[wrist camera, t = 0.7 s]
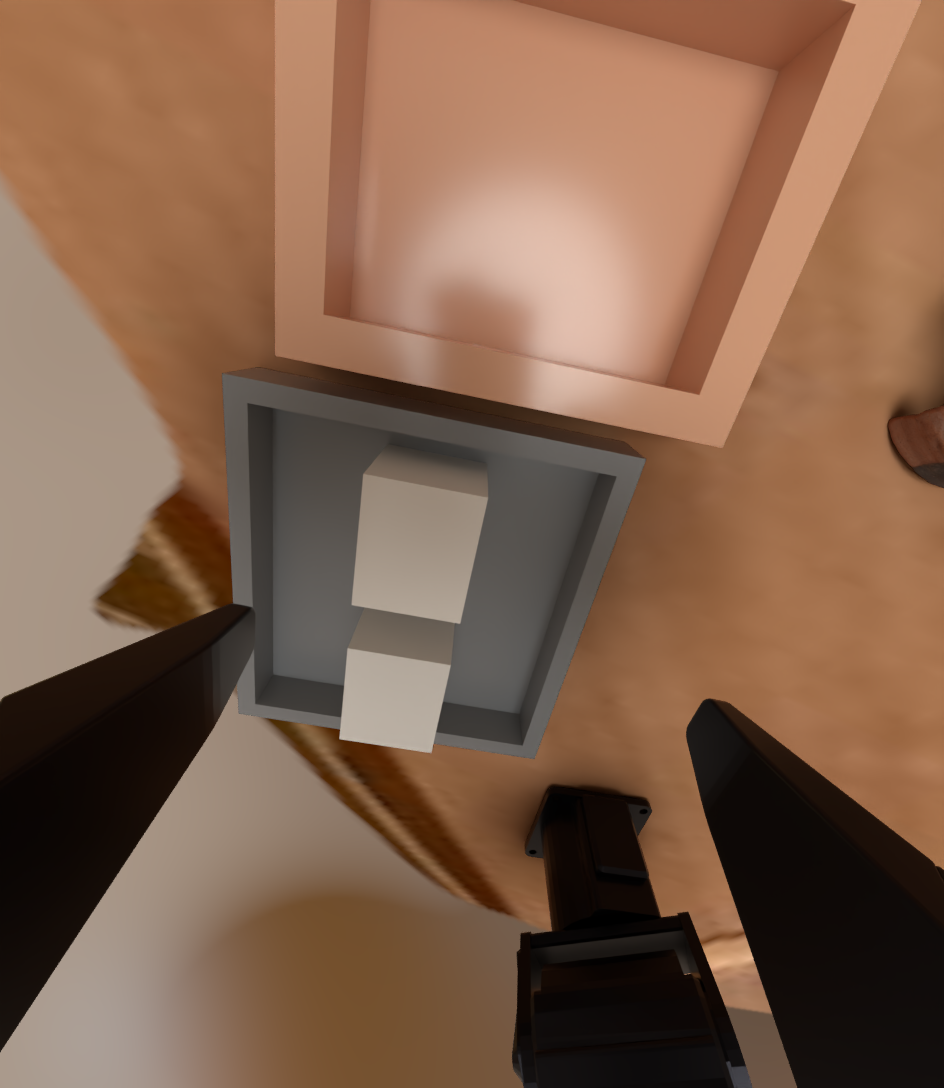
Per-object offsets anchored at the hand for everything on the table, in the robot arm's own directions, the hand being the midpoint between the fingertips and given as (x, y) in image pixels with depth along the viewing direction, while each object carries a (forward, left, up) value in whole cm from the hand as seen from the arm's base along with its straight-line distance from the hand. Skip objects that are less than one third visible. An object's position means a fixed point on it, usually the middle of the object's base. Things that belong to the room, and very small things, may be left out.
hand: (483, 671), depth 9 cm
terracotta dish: (+10, 0, -11) cm, 15 cm away
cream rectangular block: (-1, +2, -11) cm, 11 cm away
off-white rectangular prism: (-8, +2, -11) cm, 14 cm away
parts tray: (-5, +2, -11) cm, 12 cm away
